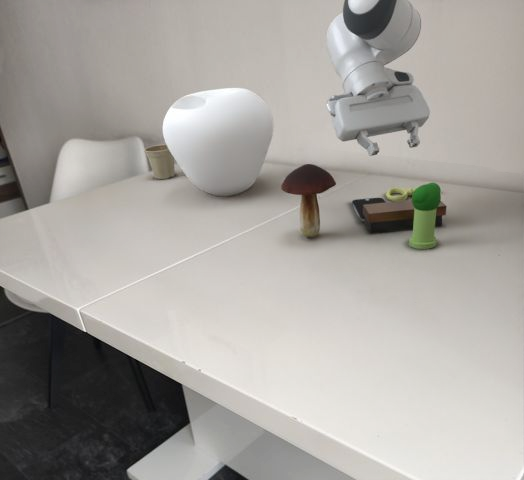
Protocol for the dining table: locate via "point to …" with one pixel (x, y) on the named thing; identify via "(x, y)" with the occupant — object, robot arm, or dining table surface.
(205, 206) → the dining table surface
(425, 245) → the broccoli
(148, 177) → the dining table surface
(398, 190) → the key
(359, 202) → the smartphone
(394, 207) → the brush
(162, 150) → the flower pot
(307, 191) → the decorative mushroom
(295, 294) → the dining table surface
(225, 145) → the vase
